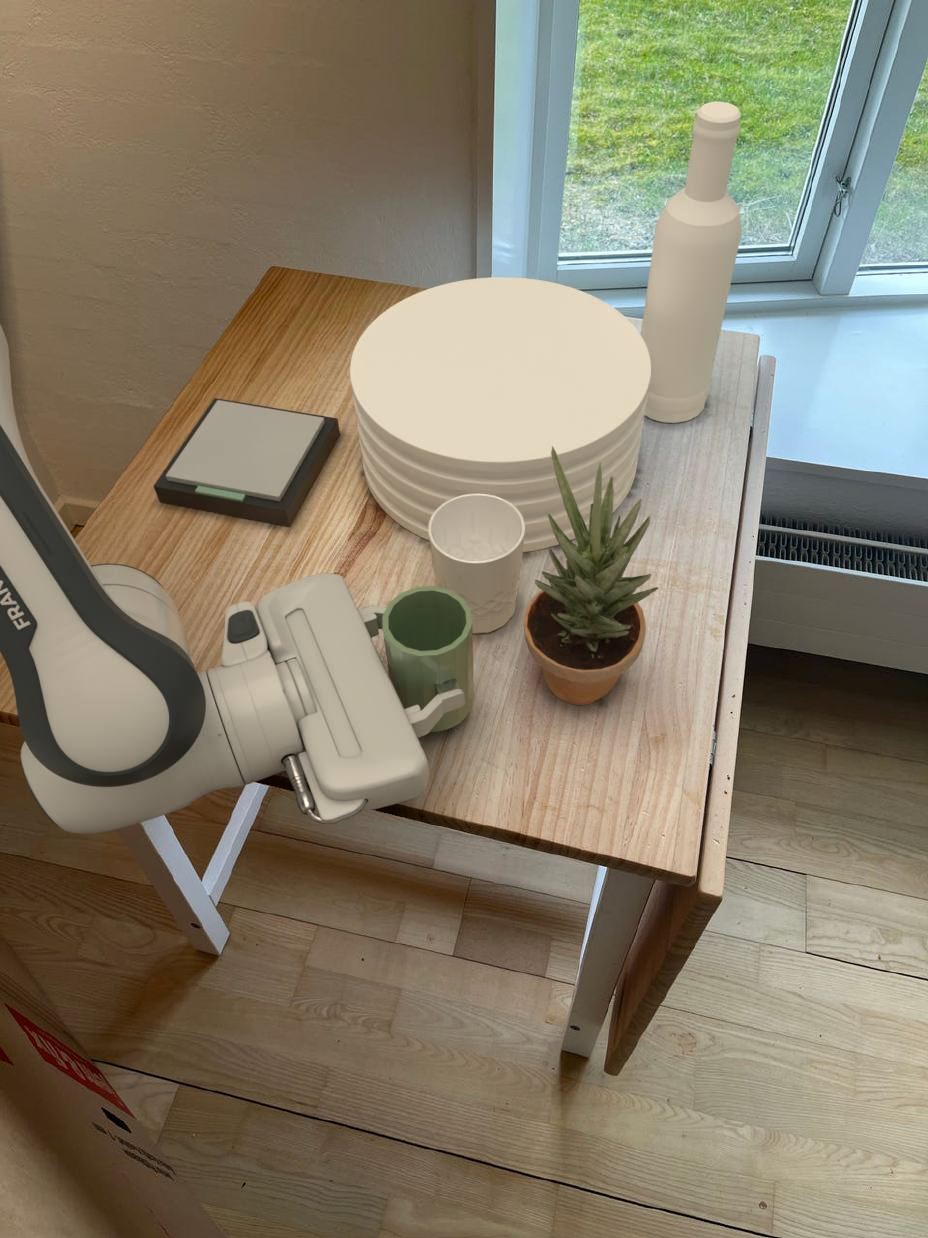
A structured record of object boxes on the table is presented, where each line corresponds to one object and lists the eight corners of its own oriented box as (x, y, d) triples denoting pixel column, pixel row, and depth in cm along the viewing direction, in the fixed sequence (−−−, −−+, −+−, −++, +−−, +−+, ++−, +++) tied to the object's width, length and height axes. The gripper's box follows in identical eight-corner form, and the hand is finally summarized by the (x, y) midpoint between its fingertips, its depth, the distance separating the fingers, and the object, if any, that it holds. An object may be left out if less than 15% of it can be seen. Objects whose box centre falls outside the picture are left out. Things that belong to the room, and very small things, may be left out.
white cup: (420, 624, 84) (412, 547, 76) (454, 562, 88) (450, 483, 80) (504, 650, 82) (504, 573, 74) (534, 585, 86) (538, 506, 78)
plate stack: (559, 344, 109) (565, 251, 100) (689, 500, 92) (710, 406, 83) (327, 411, 102) (311, 318, 93) (423, 591, 86) (415, 500, 77)
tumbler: (413, 744, 74) (404, 668, 66) (380, 683, 78) (368, 604, 70) (487, 712, 76) (487, 635, 68) (452, 654, 79) (448, 574, 72)
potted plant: (503, 653, 81) (505, 429, 62) (600, 616, 84) (631, 389, 64) (557, 744, 76) (578, 528, 56) (660, 702, 78) (714, 480, 59)
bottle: (645, 430, 99) (691, 136, 76) (621, 384, 104) (657, 95, 80) (717, 417, 100) (785, 123, 77) (690, 372, 105) (745, 83, 81)
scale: (289, 527, 92) (284, 505, 89) (159, 502, 94) (151, 480, 92) (340, 434, 100) (336, 412, 98) (219, 413, 103) (213, 392, 100)
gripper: (300, 810, 61) (496, 736, 64) (223, 590, 73) (391, 536, 76) (314, 854, 66) (496, 782, 69) (239, 640, 78) (397, 588, 81)
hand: (440, 652), depth 72 cm, fingers closed on tumbler, 6 cm apart
